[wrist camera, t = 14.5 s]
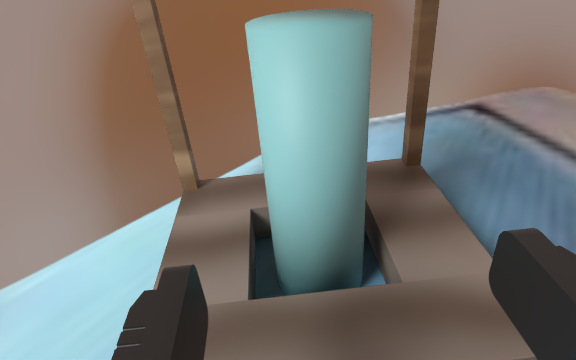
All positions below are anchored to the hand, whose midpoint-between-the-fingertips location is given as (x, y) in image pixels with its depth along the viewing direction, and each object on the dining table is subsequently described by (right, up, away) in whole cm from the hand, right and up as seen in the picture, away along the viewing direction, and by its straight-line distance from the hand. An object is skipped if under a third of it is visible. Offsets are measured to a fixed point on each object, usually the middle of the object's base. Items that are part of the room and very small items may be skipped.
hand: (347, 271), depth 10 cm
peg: (0, -3, +12) cm, 13 cm away
